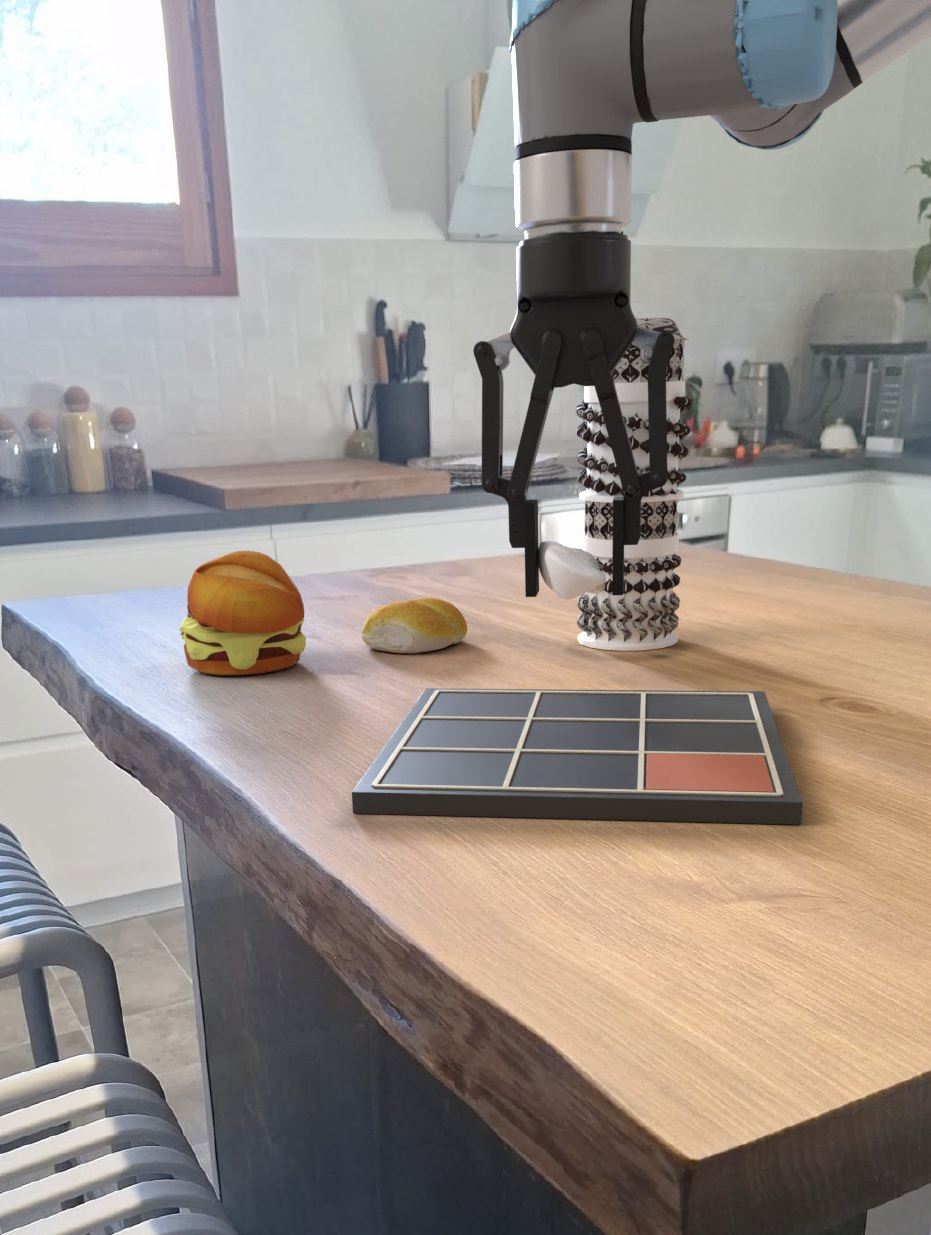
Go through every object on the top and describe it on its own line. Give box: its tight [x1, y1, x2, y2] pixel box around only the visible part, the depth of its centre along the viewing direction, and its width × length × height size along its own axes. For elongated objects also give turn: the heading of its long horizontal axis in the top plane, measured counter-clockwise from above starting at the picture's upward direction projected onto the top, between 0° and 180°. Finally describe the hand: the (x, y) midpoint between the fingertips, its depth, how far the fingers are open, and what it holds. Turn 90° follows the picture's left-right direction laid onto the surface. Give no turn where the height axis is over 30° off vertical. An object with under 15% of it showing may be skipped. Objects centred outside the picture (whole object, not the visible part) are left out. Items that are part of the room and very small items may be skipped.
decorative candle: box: [575, 317, 694, 652], centre depth 100 cm, size 9×9×25 cm
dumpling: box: [538, 540, 606, 600], centre depth 89 cm, size 7×5×4 cm
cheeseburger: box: [178, 550, 307, 676], centre depth 98 cm, size 10×11×10 cm
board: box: [351, 687, 804, 826], centre depth 74 cm, size 23×23×1 cm
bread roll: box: [361, 596, 468, 654], centre depth 105 cm, size 8×9×4 cm
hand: (575, 592), depth 89 cm, fingers closed on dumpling, 5 cm apart
